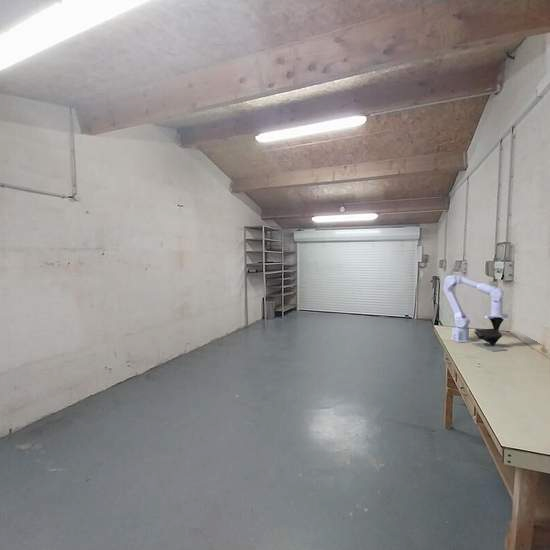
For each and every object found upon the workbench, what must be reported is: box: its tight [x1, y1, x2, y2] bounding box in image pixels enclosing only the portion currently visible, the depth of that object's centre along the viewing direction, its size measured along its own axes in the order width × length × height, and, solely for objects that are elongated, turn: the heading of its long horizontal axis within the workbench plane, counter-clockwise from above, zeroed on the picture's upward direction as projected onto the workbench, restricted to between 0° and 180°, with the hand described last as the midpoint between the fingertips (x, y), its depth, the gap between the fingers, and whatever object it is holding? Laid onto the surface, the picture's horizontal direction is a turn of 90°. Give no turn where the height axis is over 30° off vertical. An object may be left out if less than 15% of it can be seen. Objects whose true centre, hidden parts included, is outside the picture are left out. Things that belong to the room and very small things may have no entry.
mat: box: [472, 341, 509, 353], centre depth 177 cm, size 10×15×1 cm, turn 9°
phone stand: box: [473, 328, 503, 346], centre depth 179 cm, size 9×6×12 cm
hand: (496, 329), depth 178 cm, fingers closed
